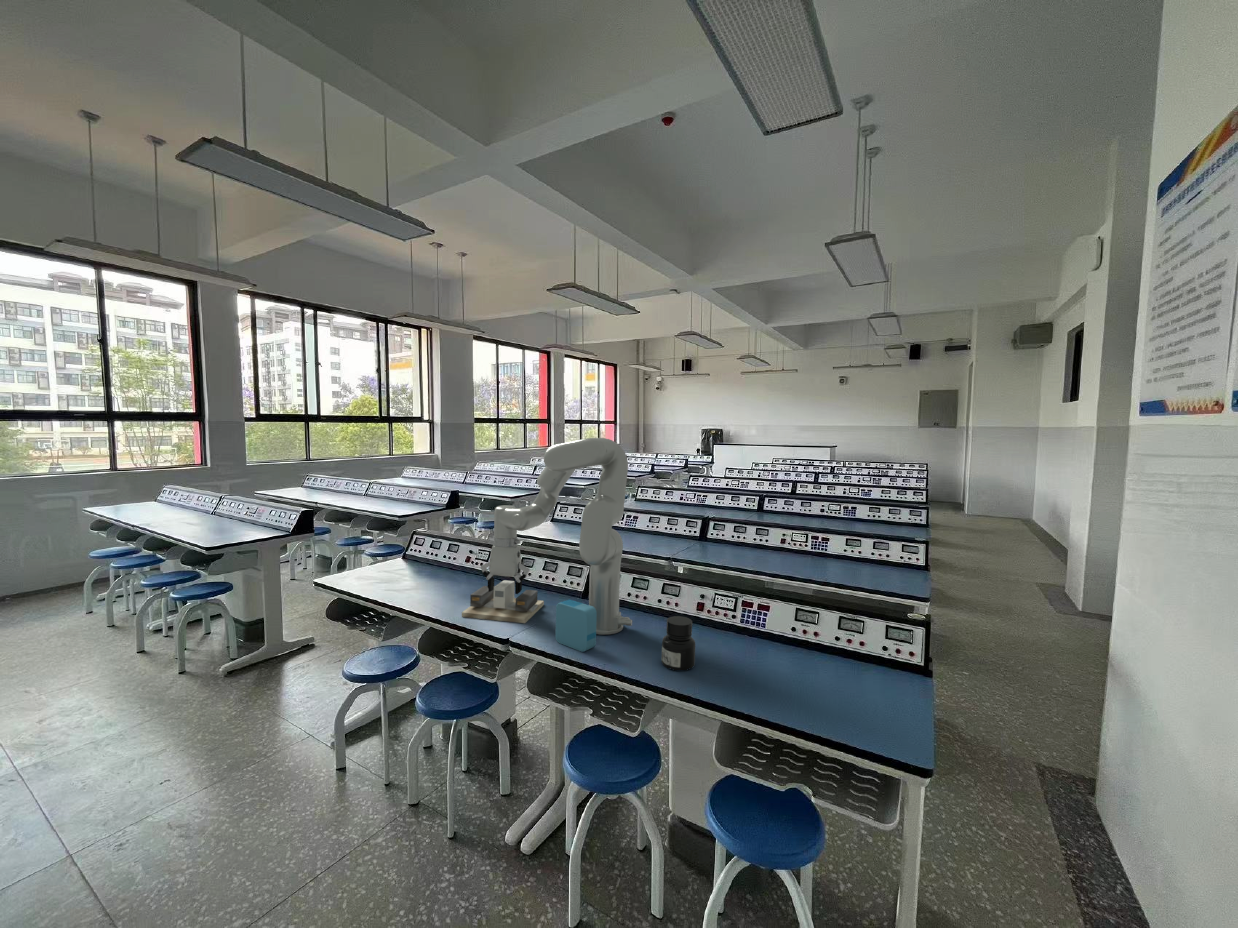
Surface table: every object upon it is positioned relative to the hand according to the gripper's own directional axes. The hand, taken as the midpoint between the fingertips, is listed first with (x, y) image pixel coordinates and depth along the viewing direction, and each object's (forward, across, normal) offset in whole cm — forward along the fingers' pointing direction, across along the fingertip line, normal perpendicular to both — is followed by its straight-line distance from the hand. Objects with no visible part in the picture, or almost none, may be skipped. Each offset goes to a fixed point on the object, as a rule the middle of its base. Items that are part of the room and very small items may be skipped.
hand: (504, 591), depth 172 cm
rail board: (+7, 0, 0) cm, 7 cm away
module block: (+4, 0, 0) cm, 4 cm away
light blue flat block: (+7, -31, +21) cm, 38 cm away
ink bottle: (+7, -61, +26) cm, 67 cm away
